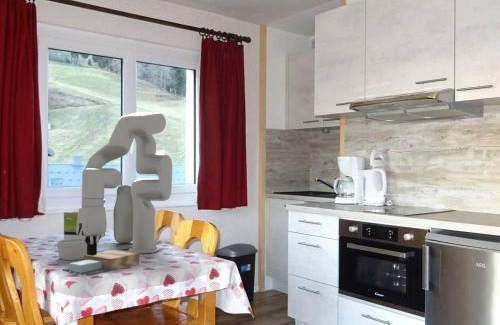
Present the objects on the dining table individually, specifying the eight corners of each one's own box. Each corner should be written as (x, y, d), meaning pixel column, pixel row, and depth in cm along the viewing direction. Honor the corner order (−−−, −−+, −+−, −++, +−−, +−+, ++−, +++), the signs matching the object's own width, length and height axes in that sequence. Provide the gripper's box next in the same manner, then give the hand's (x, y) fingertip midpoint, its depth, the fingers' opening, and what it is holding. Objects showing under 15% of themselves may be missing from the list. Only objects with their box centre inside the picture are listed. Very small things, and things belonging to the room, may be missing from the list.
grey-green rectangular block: (90, 266, 165) (90, 259, 165) (101, 268, 162) (102, 261, 162) (69, 270, 157) (69, 263, 157) (80, 272, 154) (80, 265, 154)
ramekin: (81, 253, 191) (81, 237, 191) (99, 258, 182) (99, 240, 182) (50, 258, 180) (51, 240, 180) (67, 262, 172) (68, 244, 172)
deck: (113, 259, 179) (113, 249, 179) (139, 263, 172) (139, 253, 172) (83, 265, 167) (84, 254, 167) (110, 270, 160) (110, 259, 160)
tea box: (78, 237, 234) (79, 209, 234) (97, 238, 233) (97, 209, 233) (62, 242, 219) (63, 211, 219) (82, 243, 218) (82, 212, 218)
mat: (83, 265, 167) (83, 264, 167) (110, 270, 160) (110, 269, 160) (62, 270, 159) (62, 269, 159) (89, 275, 152) (89, 274, 152)
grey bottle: (125, 241, 224) (126, 184, 225) (139, 243, 218) (140, 185, 219) (108, 243, 216) (109, 184, 217) (122, 246, 210) (124, 185, 211)
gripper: (102, 201, 170) (101, 250, 170) (67, 203, 157) (66, 257, 157) (116, 202, 166) (115, 252, 166) (82, 205, 153) (81, 259, 153)
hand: (91, 254), depth 161 cm, fingers closed
